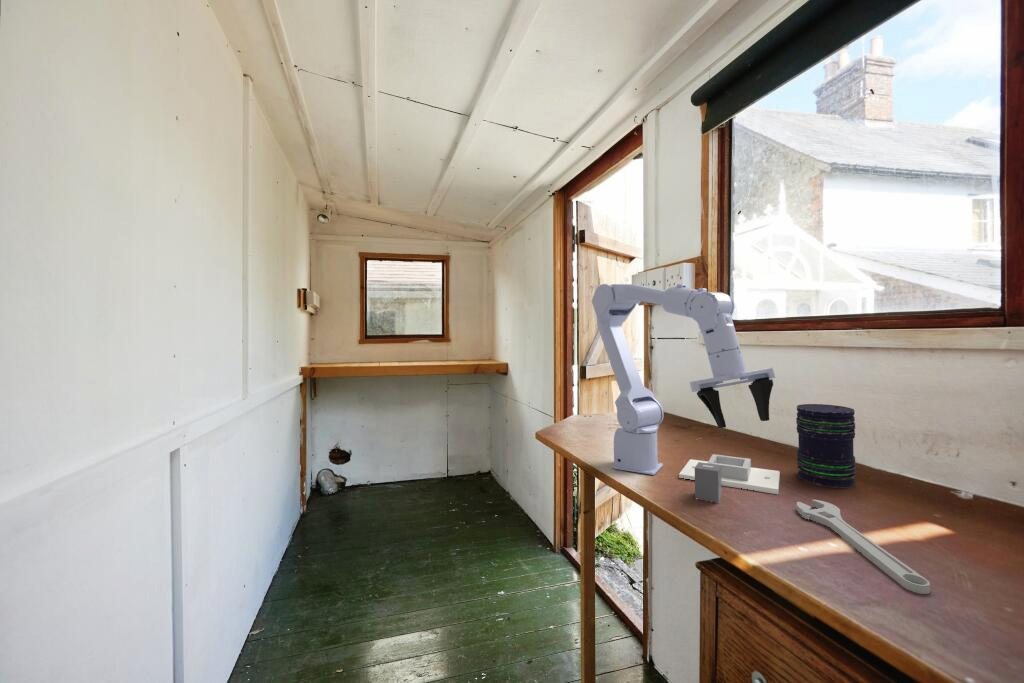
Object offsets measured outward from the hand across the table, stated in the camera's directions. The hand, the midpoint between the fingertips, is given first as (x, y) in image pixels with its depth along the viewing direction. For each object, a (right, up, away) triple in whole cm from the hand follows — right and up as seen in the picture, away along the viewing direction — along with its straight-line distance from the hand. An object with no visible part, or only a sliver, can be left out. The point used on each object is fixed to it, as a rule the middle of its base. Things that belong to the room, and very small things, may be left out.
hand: (743, 424), depth 77 cm
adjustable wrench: (+8, -15, -15) cm, 22 cm away
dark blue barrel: (+23, -14, +10) cm, 28 cm away
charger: (-5, -14, +3) cm, 16 cm away
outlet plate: (+4, -14, +13) cm, 20 cm away
